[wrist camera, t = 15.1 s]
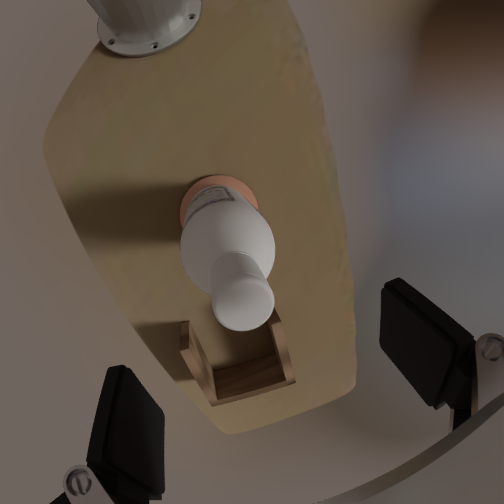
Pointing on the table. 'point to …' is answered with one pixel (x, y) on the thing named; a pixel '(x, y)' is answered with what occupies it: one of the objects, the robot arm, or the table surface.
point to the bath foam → (229, 256)
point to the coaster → (215, 180)
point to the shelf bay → (239, 368)
